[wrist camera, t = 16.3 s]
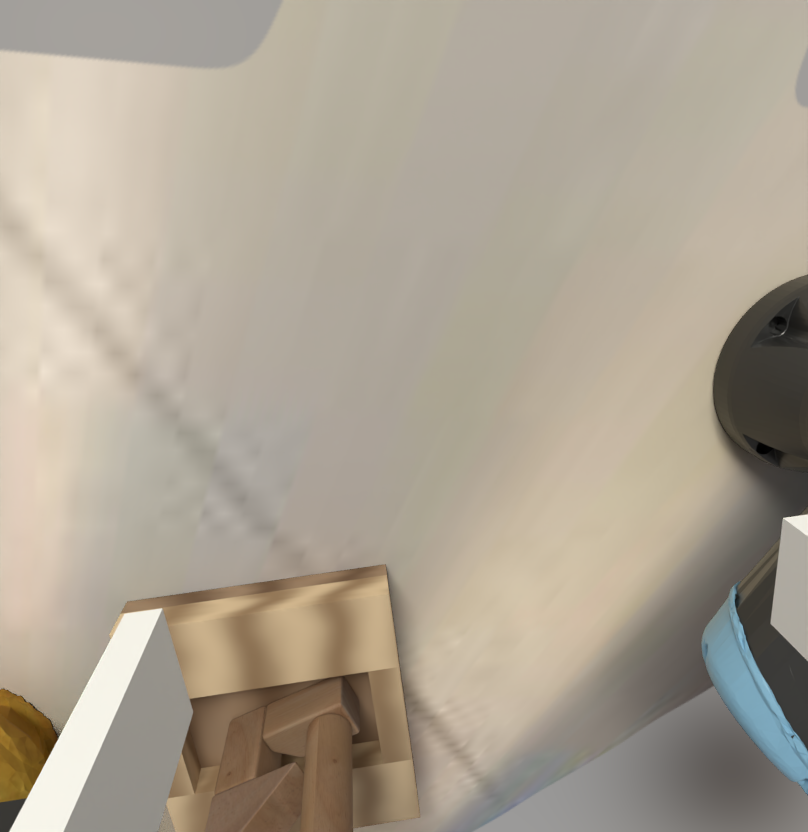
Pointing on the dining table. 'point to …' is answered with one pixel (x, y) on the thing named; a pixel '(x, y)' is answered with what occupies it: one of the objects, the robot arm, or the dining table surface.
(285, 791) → the wooden block
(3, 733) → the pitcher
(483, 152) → the dining table surface
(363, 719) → the wooden tray
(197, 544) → the dining table surface
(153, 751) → the robot arm
